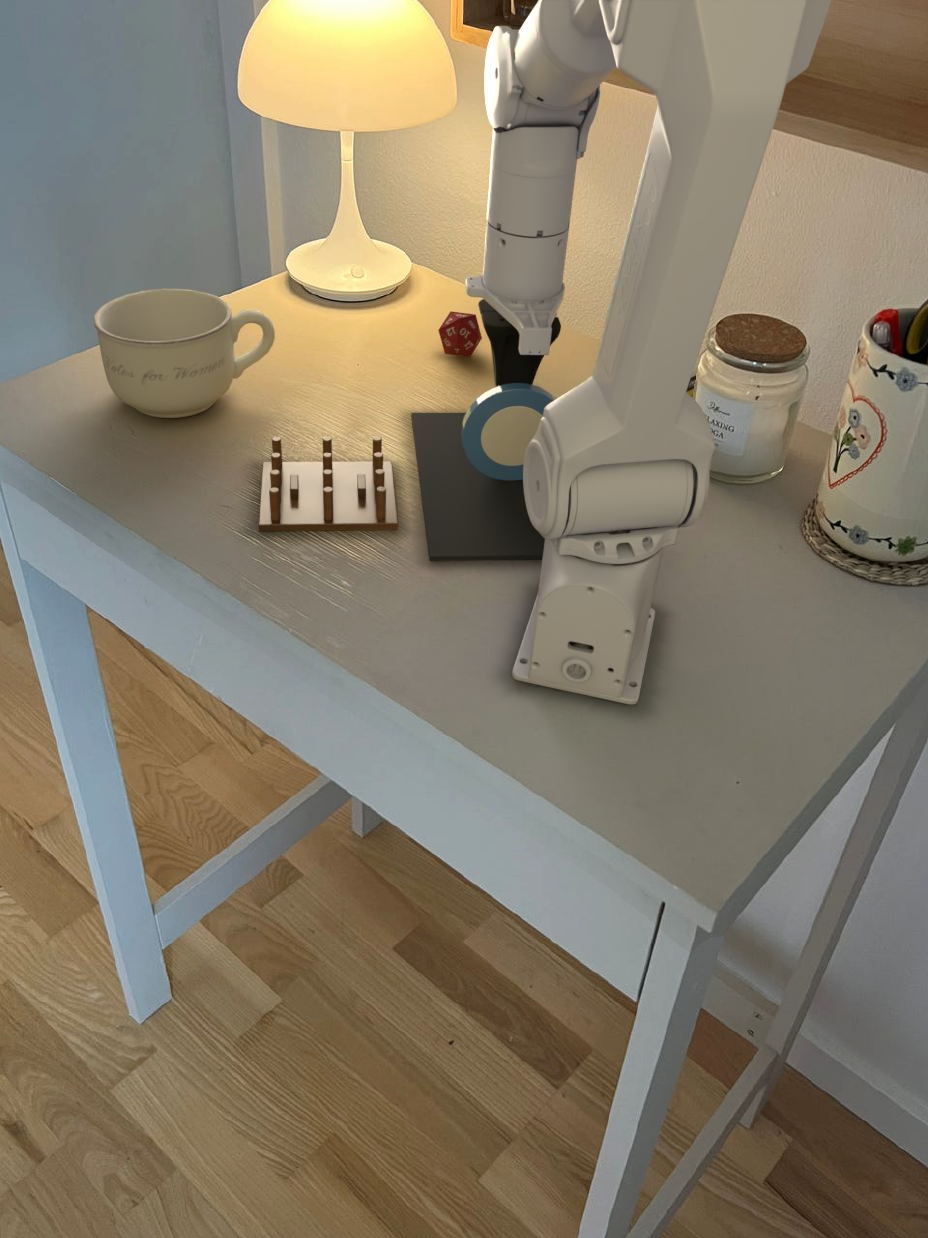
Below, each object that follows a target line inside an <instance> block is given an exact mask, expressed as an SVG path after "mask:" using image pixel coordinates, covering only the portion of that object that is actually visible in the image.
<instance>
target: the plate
mask: <svg viewBox="0 0 928 1238" xmlns="http://www.w3.org/2000/svg"><path fill="white" fill-rule="evenodd" d="M556 399H557V398H556V397H555V396H554V395H553V394H551V393H550V392H548V391H547V390H546V389H544V388H542V387H541V386H537V385H536V384H535V385H534V384H532V385H531V384H526V383H510V384H504V385H501V386H497V387H496V386H495V387H492V388H491V389H489V390H487V391H485V392H483V393H482V394H481V395H479V397H477V398H476V399H475V400H474V401H473V402H472V404H471V405H470V406H469V407H468V409H467V411H466V412H465V413H466V414H465V417H464V419H463V422H462V428H461V438H462V444H463V448H464V452H465V454H466V456H467V458H468V460H469V461H470V463H471V464H472V465H473V466H474V467H475V468H476V469H477V470H478V471H480V472H481V473H483V474H484V475H487V476H489V477H491V478H494V479H498V480H505V481H516V480H523V465H524V457H525V452H526V449H527V447H528V445H529V443H530V442H531V441H532V439H533V437H534V436H535V434H536V432H537V430H538V427H539V423H540V420H541V419H542V417H543V412H544V408H545V407H546V406H547V405H548V404H550V403H551V402H553V401H554V400H556Z"/></svg>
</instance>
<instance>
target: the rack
mask: <svg viewBox="0 0 928 1238" xmlns="http://www.w3.org/2000/svg"><path fill="white" fill-rule="evenodd" d="M332 441H333V439H332V437H331V436H323V437H322V461H283V448H282V447H283V446H282V438H281V437H280V436H273V437H272V438H271V446H272V447H271V448H272V449H271V450H272V453H271V454H270V461H262V467H261V480H260V481H261V483H260V496H259V497H260V499H259V511H258V531H259V532H307V531H308V532H310V531H311V532H313V531H316V532H317V531H321V532H323V531H394V530H398V529H399V527H398V526H399V522H398V511H397V500H396V491H395V480H394V479H395V478H394V470H393V461H391V460H387V461H386V460H385V461H384V454H383V439H382V437H381V436H373V437H372V460H371V461H369V460H368V461H367V460H365V461H363V460H361V461H357V460H355V461H333V442H332Z"/></svg>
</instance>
